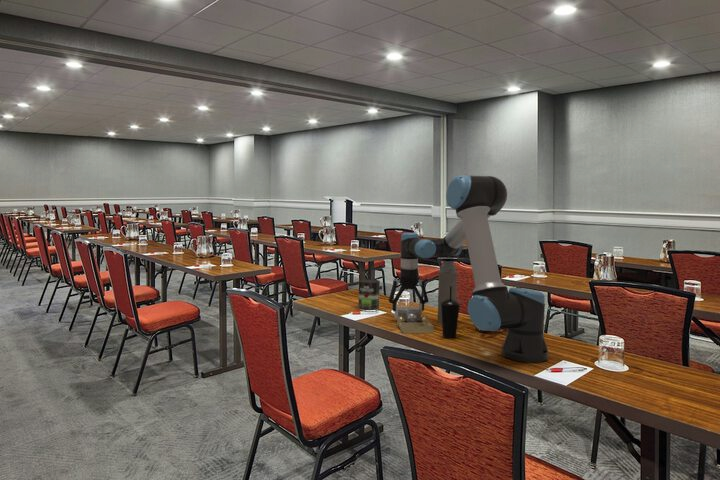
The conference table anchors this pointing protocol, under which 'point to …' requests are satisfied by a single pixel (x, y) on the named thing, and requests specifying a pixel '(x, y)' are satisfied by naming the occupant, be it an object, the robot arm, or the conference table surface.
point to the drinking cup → (450, 316)
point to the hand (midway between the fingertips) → (408, 318)
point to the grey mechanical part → (410, 313)
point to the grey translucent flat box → (415, 326)
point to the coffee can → (369, 294)
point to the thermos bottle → (446, 283)
